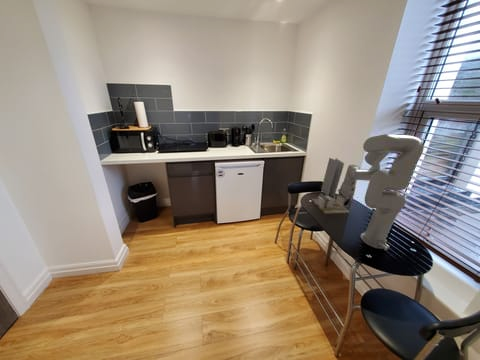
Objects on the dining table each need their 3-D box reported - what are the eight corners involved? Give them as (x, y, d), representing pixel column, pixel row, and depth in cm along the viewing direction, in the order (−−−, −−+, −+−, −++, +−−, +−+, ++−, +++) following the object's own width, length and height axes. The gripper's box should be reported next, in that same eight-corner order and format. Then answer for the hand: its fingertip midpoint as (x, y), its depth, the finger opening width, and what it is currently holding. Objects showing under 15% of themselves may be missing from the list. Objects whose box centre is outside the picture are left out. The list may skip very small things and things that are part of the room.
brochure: (334, 197, 155) (344, 163, 143) (327, 197, 155) (337, 163, 143) (327, 190, 168) (336, 158, 156) (321, 189, 168) (329, 157, 156)
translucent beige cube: (347, 206, 141) (350, 199, 138) (340, 206, 140) (343, 199, 137) (342, 202, 146) (344, 195, 144) (335, 202, 145) (337, 195, 143)
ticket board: (349, 212, 135) (349, 211, 134) (325, 213, 132) (325, 212, 131) (333, 199, 152) (333, 198, 151) (311, 200, 149) (311, 198, 148)
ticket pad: (333, 208, 137) (336, 199, 134) (322, 208, 135) (324, 200, 133) (326, 201, 146) (328, 193, 143) (315, 201, 144) (317, 193, 141)
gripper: (363, 186, 128) (354, 209, 135) (346, 177, 144) (339, 197, 151) (353, 187, 127) (345, 209, 134) (337, 177, 143) (331, 197, 150)
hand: (342, 203), depth 142 cm, fingers closed on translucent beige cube, 6 cm apart
